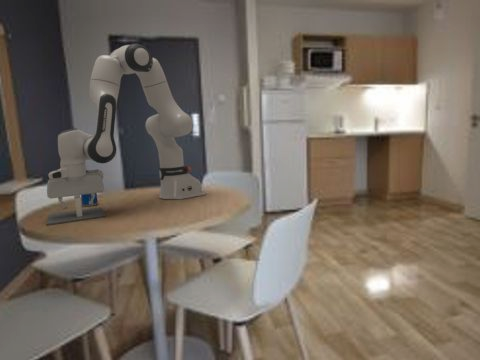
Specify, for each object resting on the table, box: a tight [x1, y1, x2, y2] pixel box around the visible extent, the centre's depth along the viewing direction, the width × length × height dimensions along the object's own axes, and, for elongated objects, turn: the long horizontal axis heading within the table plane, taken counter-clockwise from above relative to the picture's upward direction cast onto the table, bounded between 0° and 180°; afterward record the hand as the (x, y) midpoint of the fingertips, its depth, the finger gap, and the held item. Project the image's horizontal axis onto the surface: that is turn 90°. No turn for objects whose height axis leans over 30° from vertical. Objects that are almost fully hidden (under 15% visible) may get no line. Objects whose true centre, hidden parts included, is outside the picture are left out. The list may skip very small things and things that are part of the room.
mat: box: [46, 206, 107, 226], centre depth 141 cm, size 20×18×1 cm
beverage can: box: [80, 193, 98, 207], centre depth 161 cm, size 6×6×12 cm
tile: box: [73, 195, 83, 217], centre depth 141 cm, size 2×8×7 cm, turn 25°
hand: (78, 206), depth 141 cm, fingers open, 8 cm apart
